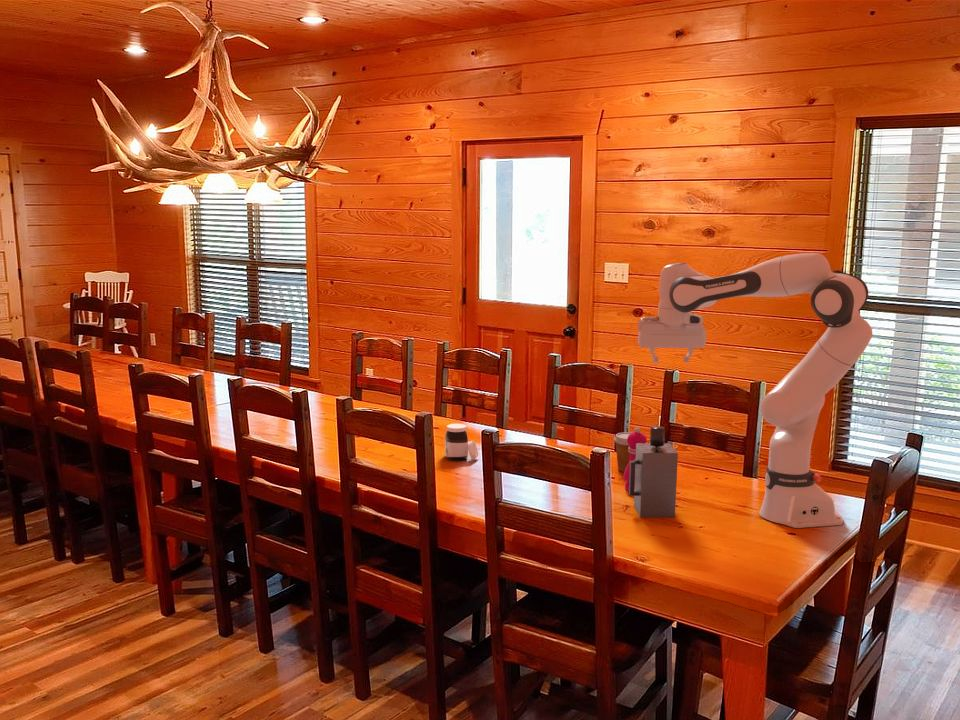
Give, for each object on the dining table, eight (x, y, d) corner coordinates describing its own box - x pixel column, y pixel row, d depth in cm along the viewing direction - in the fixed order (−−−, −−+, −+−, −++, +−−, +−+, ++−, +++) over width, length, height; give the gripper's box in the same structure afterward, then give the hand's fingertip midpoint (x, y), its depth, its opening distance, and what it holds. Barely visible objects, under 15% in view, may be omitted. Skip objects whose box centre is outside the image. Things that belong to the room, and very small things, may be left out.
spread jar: (442, 454, 312) (442, 423, 310) (473, 452, 315) (473, 421, 313) (449, 464, 300) (449, 431, 298) (481, 462, 303) (481, 429, 301)
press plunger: (665, 480, 258) (668, 424, 255) (671, 489, 250) (674, 431, 247) (639, 480, 258) (641, 424, 255) (644, 488, 250) (646, 431, 247)
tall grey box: (667, 505, 261) (670, 443, 257) (674, 517, 251) (677, 453, 247) (625, 505, 260) (628, 443, 257) (631, 517, 251) (634, 452, 247)
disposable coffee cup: (643, 474, 290) (645, 439, 288) (615, 474, 290) (616, 439, 288) (639, 466, 300) (640, 432, 297) (611, 465, 300) (612, 431, 298)
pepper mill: (646, 493, 271) (649, 431, 268) (622, 492, 272) (625, 429, 269) (646, 486, 278) (649, 425, 275) (623, 484, 279) (626, 424, 276)
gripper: (640, 318, 260) (638, 363, 263) (708, 318, 261) (706, 364, 263) (636, 315, 267) (634, 360, 269) (703, 315, 267) (701, 360, 269)
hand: (670, 362), depth 266 cm, fingers open, 8 cm apart
